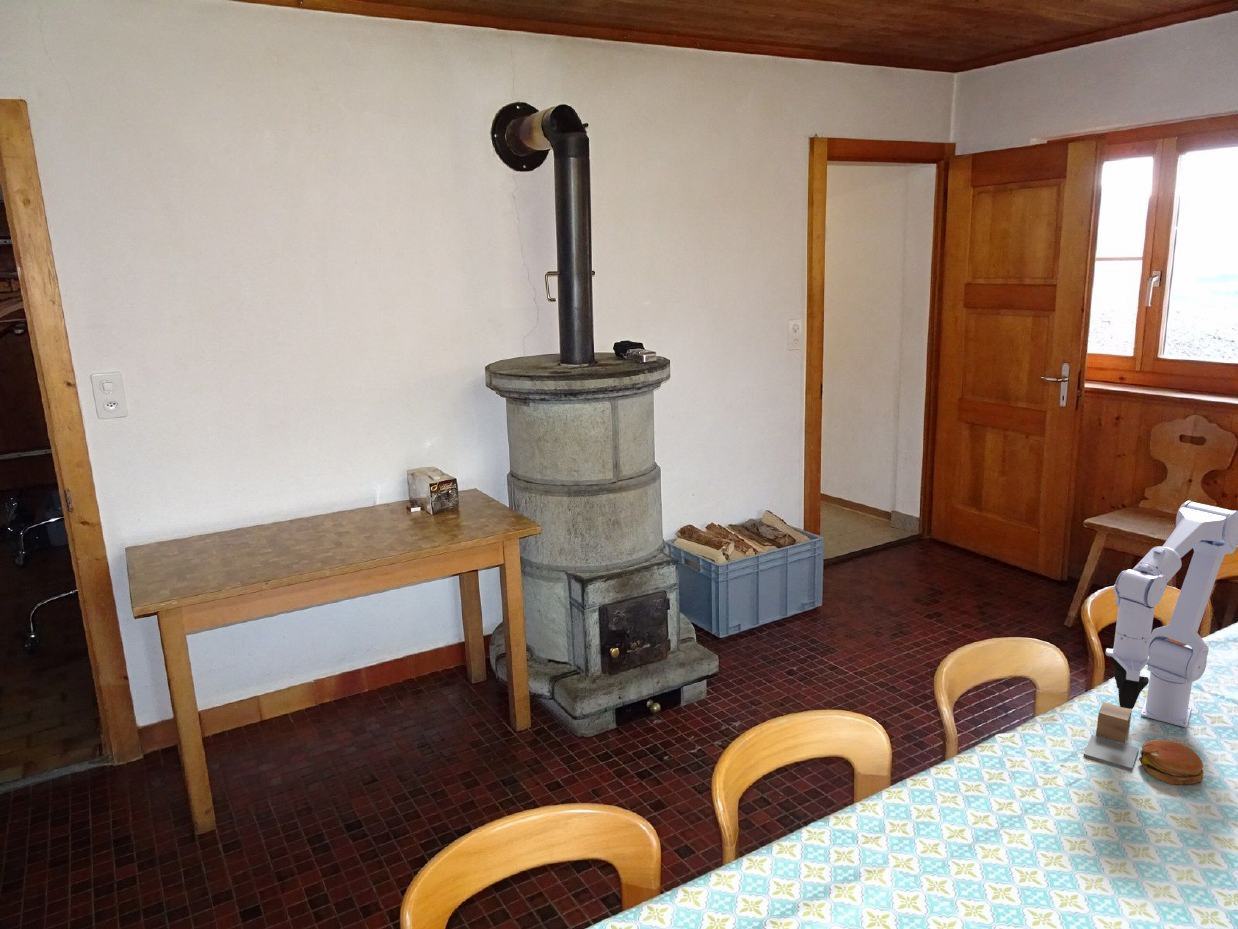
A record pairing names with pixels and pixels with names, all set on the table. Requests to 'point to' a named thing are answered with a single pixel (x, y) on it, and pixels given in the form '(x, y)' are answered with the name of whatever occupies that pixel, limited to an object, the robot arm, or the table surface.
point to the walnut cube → (1113, 722)
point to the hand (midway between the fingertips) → (1124, 697)
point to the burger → (1171, 762)
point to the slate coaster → (1111, 752)
